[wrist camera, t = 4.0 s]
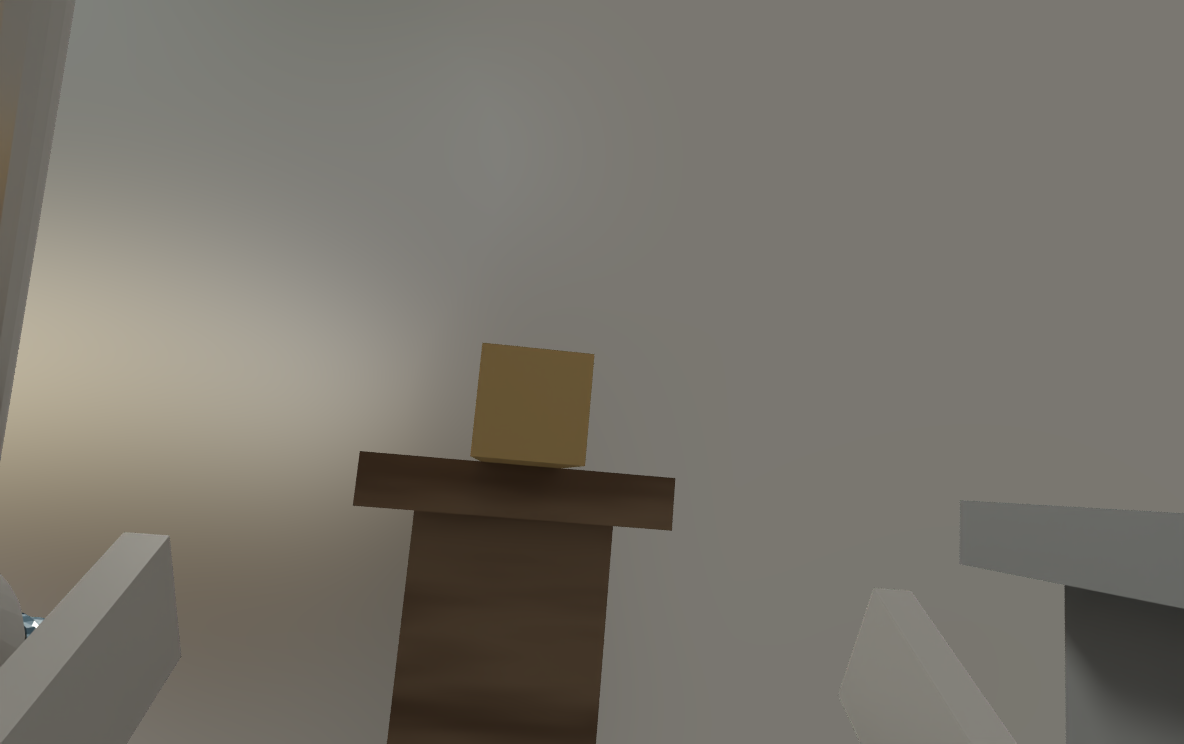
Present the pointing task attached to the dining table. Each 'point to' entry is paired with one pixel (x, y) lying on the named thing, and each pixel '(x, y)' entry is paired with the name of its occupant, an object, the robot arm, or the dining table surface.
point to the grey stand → (1101, 608)
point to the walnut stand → (504, 593)
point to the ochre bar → (532, 406)
